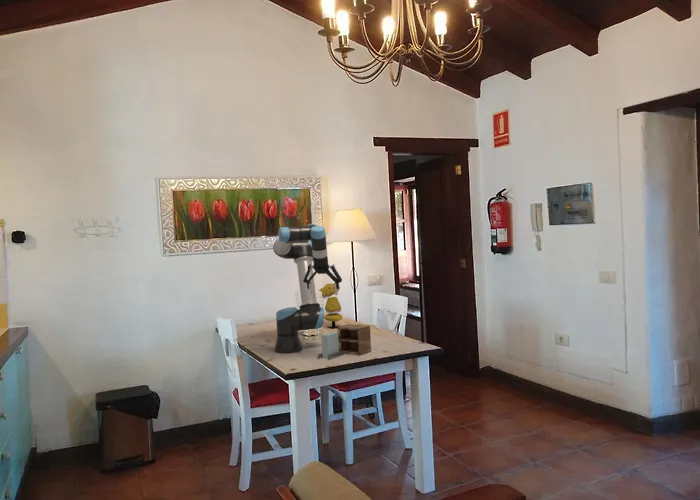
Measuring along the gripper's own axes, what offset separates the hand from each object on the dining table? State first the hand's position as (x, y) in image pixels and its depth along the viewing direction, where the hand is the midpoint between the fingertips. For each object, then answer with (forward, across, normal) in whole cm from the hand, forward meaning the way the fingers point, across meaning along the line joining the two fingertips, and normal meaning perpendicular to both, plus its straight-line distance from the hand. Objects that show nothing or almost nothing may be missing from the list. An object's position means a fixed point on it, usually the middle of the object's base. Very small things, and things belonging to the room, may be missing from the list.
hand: (323, 294), depth 300 cm
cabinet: (+31, +10, -8) cm, 34 cm away
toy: (+56, -16, +69) cm, 91 cm away
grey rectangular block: (+30, +4, -12) cm, 32 cm away
